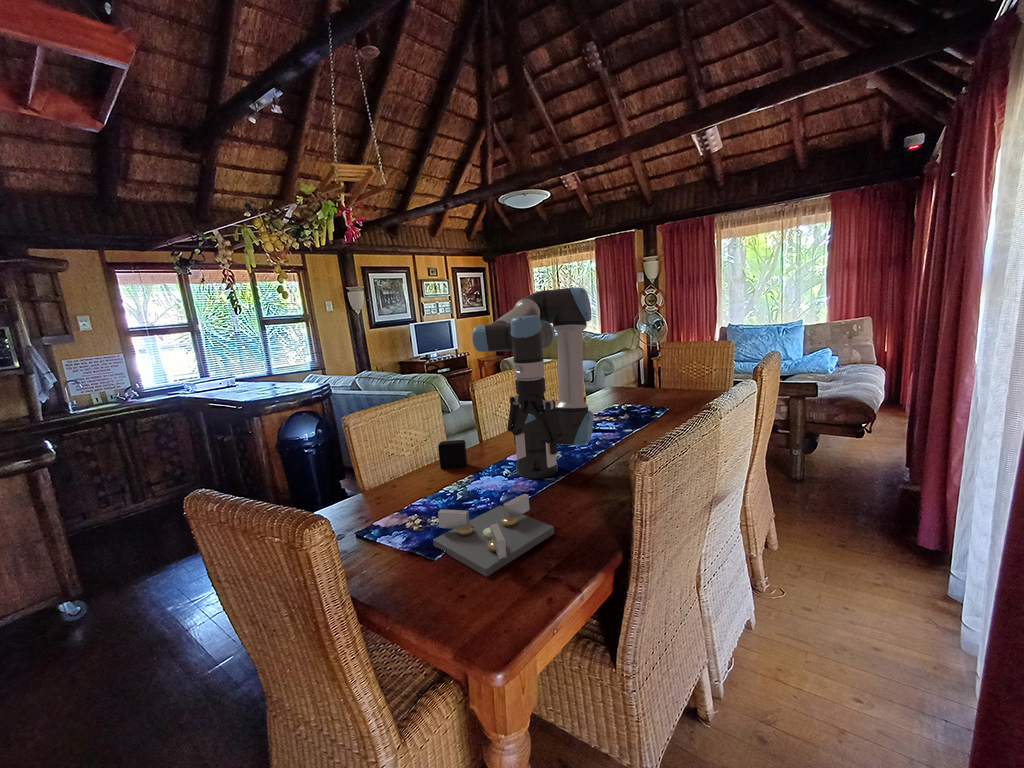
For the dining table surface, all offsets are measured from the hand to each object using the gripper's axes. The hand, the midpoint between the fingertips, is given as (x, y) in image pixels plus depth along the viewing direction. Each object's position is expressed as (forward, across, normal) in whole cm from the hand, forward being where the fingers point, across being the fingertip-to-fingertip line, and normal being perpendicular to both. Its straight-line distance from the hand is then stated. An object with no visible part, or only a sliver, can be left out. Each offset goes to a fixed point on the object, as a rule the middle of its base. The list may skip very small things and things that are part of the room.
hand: (536, 461), depth 116 cm
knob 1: (+17, -15, -17) cm, 28 cm away
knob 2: (+17, +1, -17) cm, 24 cm away
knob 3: (+17, -7, -3) cm, 19 cm away
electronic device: (+20, -60, +16) cm, 65 cm away
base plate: (+20, -7, -11) cm, 24 cm away
